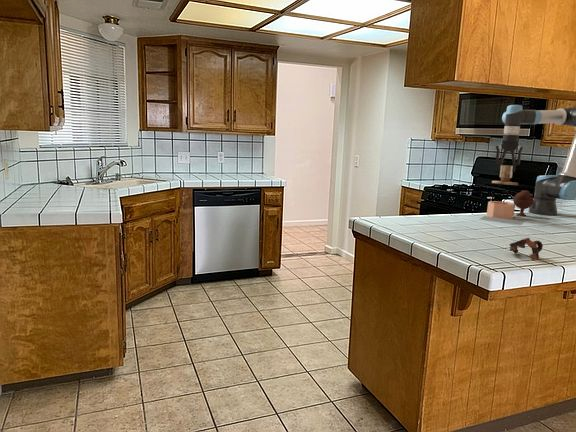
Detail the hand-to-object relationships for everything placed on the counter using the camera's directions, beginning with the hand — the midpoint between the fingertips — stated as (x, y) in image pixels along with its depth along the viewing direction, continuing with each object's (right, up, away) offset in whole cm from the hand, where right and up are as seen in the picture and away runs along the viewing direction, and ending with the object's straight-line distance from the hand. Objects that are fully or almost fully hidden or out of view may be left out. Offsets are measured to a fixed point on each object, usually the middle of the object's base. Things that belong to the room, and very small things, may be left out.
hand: (505, 177), depth 246 cm
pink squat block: (-1, -22, +4) cm, 22 cm away
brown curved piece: (-31, -37, -80) cm, 93 cm away
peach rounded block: (0, -4, 0) cm, 4 cm away
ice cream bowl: (+15, -21, +13) cm, 29 cm away
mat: (-6, -24, -8) cm, 26 cm away
